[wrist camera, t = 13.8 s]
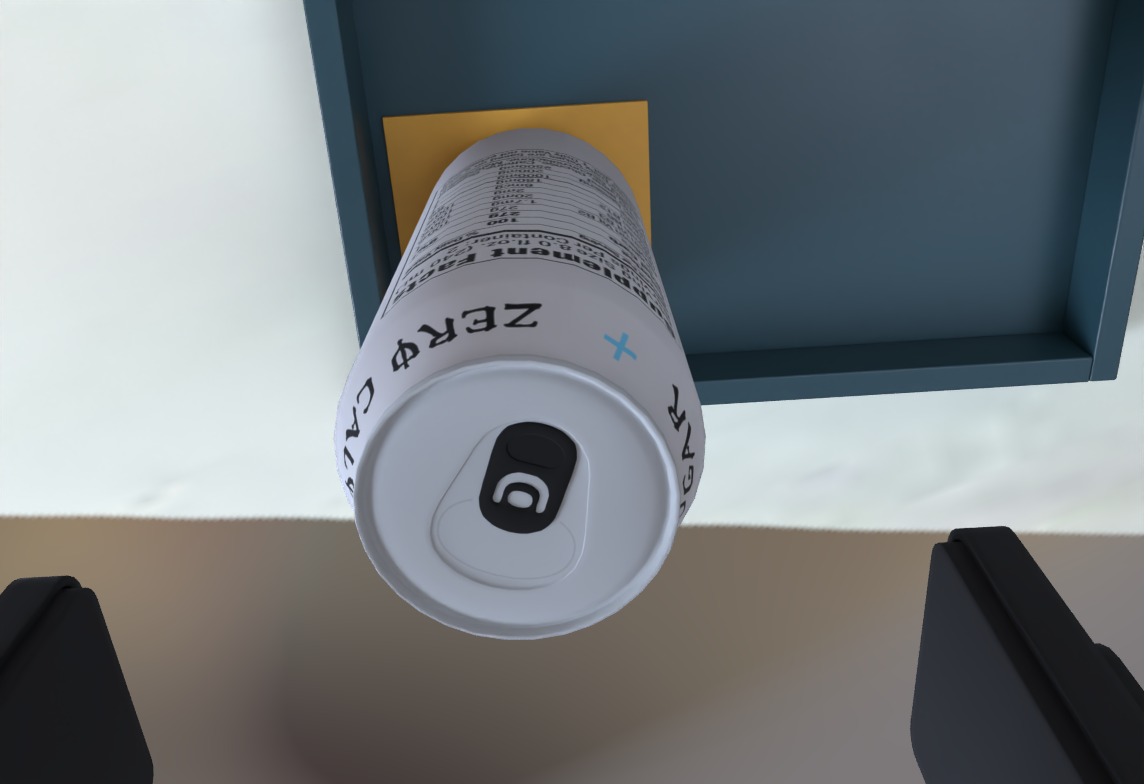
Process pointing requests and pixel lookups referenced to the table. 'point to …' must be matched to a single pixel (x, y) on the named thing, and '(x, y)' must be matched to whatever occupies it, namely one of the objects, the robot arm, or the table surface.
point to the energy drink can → (522, 398)
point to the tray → (805, 171)
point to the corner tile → (441, 137)
